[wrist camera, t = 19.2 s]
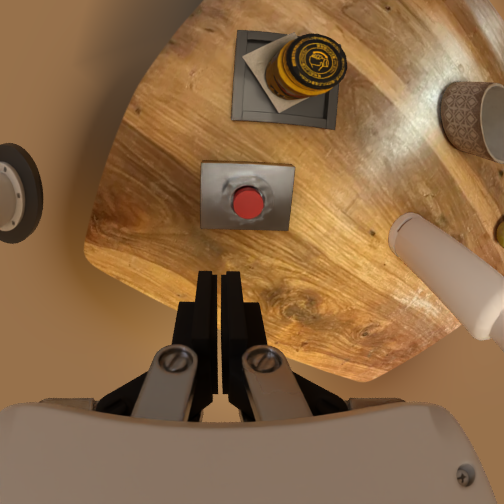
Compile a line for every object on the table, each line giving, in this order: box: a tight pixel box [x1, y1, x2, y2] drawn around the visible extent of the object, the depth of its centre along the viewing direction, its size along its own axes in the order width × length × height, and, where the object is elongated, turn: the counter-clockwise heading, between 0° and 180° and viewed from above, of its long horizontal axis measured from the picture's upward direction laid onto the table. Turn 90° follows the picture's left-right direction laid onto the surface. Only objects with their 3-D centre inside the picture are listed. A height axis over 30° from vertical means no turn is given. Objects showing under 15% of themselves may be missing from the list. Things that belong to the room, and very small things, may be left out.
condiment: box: [242, 32, 347, 113], centre depth 23 cm, size 7×8×12 cm
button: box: [233, 187, 264, 219], centre depth 35 cm, size 4×4×2 cm
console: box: [200, 160, 295, 231], centre depth 37 cm, size 12×9×4 cm
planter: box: [441, 82, 504, 164], centre depth 30 cm, size 13×13×10 cm
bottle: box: [388, 212, 504, 352], centre depth 31 cm, size 8×8×28 cm
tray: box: [231, 30, 341, 130], centre depth 31 cm, size 13×12×3 cm
